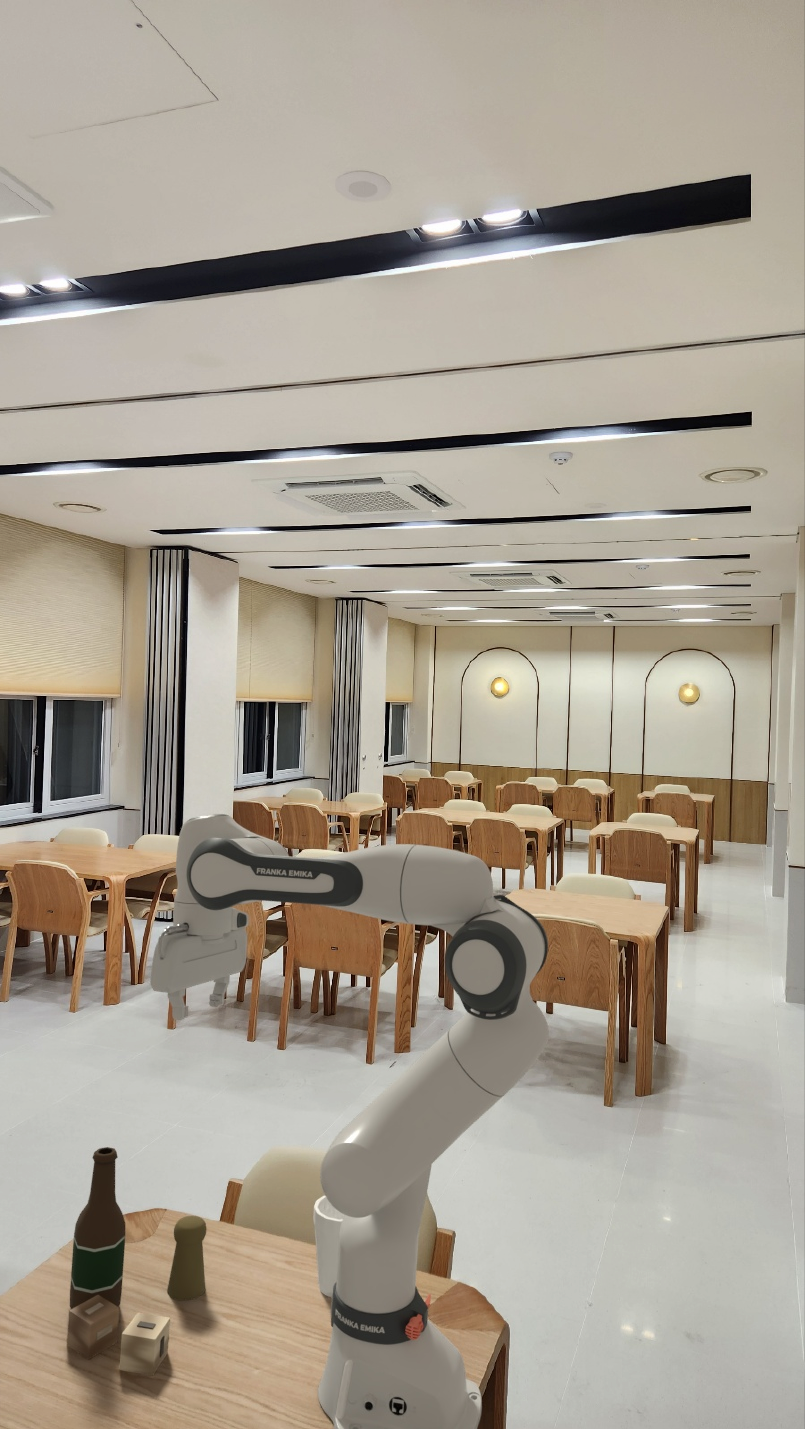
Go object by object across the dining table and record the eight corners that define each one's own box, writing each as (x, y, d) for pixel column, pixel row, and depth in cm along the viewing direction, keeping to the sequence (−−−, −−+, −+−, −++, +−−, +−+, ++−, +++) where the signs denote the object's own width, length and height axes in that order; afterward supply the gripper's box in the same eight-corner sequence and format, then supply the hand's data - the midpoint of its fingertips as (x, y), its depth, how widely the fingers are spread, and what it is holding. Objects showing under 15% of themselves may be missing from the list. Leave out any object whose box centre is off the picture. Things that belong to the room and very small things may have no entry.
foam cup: (300, 1295, 146) (305, 1213, 147) (321, 1265, 155) (326, 1188, 155) (355, 1309, 143) (360, 1225, 144) (373, 1277, 152) (378, 1199, 153)
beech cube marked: (168, 1353, 131) (171, 1316, 131) (153, 1376, 126) (156, 1338, 126) (135, 1347, 132) (138, 1311, 132) (119, 1369, 127) (121, 1332, 127)
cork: (195, 1303, 143) (200, 1232, 143) (160, 1296, 144) (165, 1226, 144) (211, 1281, 148) (215, 1213, 149) (177, 1275, 150) (181, 1207, 150)
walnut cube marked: (117, 1342, 132) (120, 1307, 133) (88, 1360, 128) (91, 1323, 128) (95, 1328, 135) (98, 1293, 135) (66, 1345, 131) (69, 1309, 131)
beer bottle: (87, 1330, 135) (98, 1166, 136) (58, 1308, 139) (69, 1150, 140) (131, 1306, 141) (141, 1150, 142) (101, 1286, 146) (112, 1135, 146)
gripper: (178, 929, 128) (173, 1029, 127) (255, 914, 147) (251, 1001, 145) (142, 926, 130) (137, 1024, 129) (222, 911, 149) (218, 997, 148)
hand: (198, 1012), depth 137 cm, fingers open, 8 cm apart
